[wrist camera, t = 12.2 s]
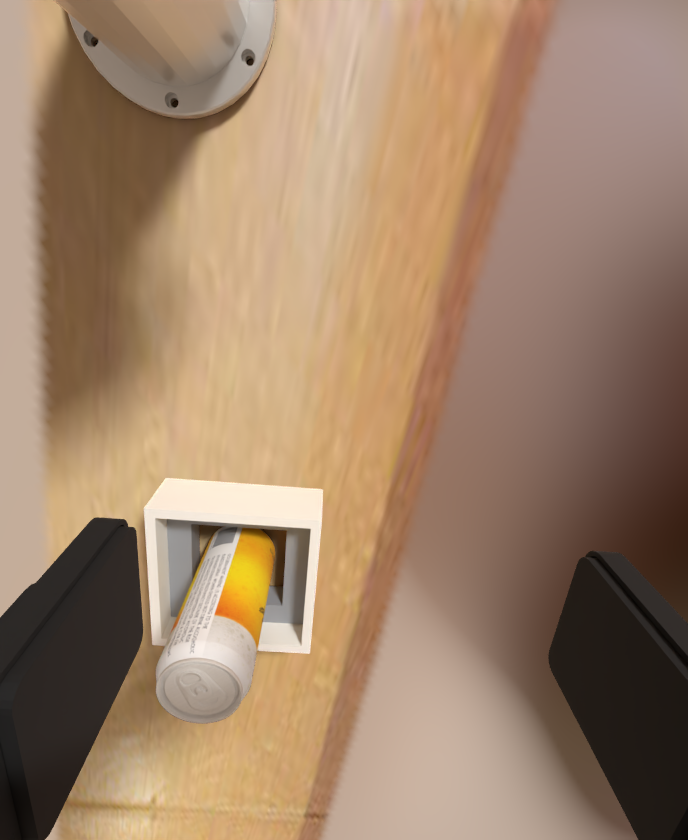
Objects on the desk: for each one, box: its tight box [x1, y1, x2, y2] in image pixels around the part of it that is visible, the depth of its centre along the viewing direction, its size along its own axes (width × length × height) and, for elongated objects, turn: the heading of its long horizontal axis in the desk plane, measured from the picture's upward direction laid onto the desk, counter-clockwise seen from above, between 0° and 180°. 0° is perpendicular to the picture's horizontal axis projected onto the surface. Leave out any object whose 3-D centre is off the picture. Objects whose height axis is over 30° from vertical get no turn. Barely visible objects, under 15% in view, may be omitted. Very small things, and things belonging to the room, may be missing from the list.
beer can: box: [156, 526, 275, 723], centre depth 36 cm, size 6×6×15 cm
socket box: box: [144, 478, 323, 654], centre depth 41 cm, size 14×14×5 cm
